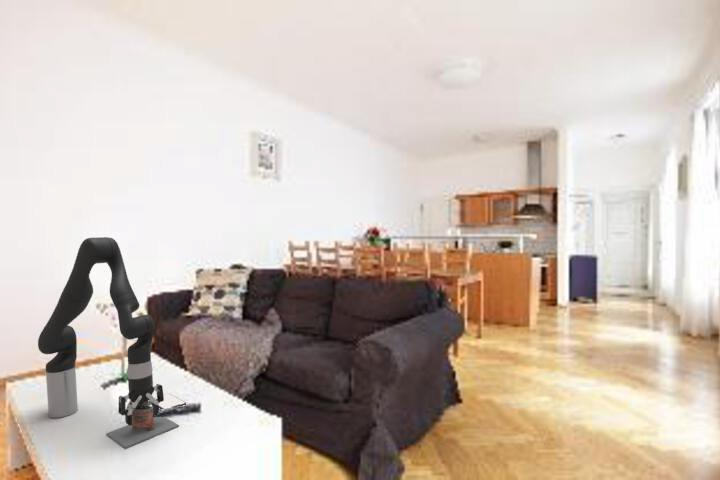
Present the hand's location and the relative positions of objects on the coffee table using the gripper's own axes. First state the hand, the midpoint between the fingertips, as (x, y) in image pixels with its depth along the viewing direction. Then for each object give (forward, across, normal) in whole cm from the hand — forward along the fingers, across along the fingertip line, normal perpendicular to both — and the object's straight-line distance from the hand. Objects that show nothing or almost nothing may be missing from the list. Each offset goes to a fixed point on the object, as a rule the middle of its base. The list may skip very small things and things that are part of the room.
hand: (142, 419), depth 147 cm
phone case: (+5, -16, -15) cm, 22 cm away
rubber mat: (+4, 0, 0) cm, 4 cm away
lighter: (+3, 0, 0) cm, 3 cm away
